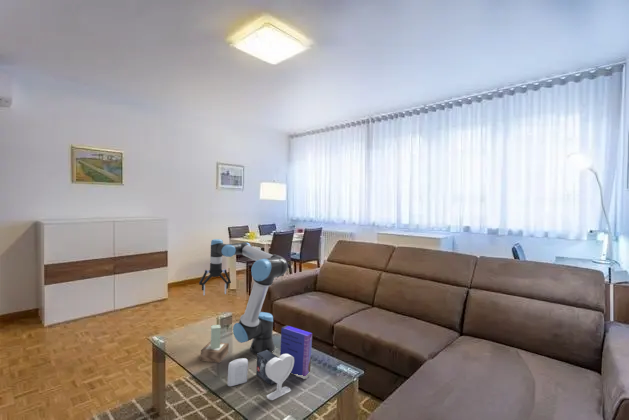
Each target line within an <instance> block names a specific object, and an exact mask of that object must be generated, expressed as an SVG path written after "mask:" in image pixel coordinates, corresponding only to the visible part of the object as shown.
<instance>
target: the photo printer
mask: <svg viewBox="0 0 629 420" xmlns="http://www.w3.org/2000/svg"><path fill="white" fill-rule="evenodd" d="M248 367H249V359H247V358H245V357H244V358H243V357H242V358H236V359H234V360H232V361H230V362H228V368H227V369H228V370H227V386H228V387H233V386H234V387H235V386H237V385H241V384H245V383H247V382H248V370H249V368H248Z"/></svg>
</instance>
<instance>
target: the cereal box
mask: <svg viewBox="0 0 629 420" xmlns="http://www.w3.org/2000/svg"><path fill="white" fill-rule="evenodd" d="M280 331H281V333H280V336H281V337H280V350H279V351H280V352H279V353H280V355H279V357H280V356H281V355H282V354H289V355H291V356H293V357H294V366H293V369H292V371H291V373H293V374H298V375H303V376H306V375H307V374H308V373H309V372H310V373H311V361H312V345H313V344H312V343H313V342H312V341H313V333H312V332H310V331H307V330H303V329H301V328H297V327H295V326H291V325H284V326H282V327H281V330H280Z"/></svg>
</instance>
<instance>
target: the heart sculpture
mask: <svg viewBox="0 0 629 420" xmlns="http://www.w3.org/2000/svg"><path fill="white" fill-rule="evenodd" d="M277 357H279V358H277ZM277 357H274V358H272V359H271V360H270V361H268V362H267V364H266V368H265V370H266V375H267V376H268V378H270V379H271V380H272V381H274V382H276V390H275V391H272V392H270V393H269V394H267V395H266V398H267V399H268V400H270V401H274V400H276V399H278V398H280V397H282V396H284V395H286V394H287V393H290V392H291V391H292V389H291V388H290V386H283V383H284V382H285V381H286V380H287V379H288V378H289V376H290V373H291V371H292V369H293V366H294V357H293V356H291V355H289V354H282V355H281V356H280V355H279V356H277Z"/></svg>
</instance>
